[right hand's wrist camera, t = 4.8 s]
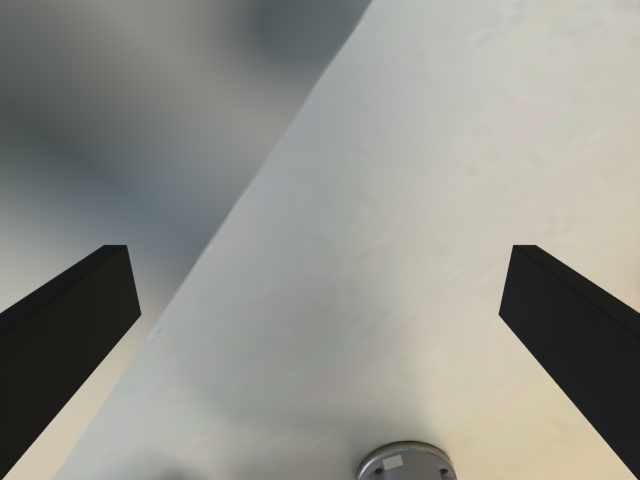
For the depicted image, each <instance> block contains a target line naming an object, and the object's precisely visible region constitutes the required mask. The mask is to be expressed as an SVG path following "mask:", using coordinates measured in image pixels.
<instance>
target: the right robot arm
mask: <svg viewBox="0 0 640 480" xmlns="http://www.w3.org/2000/svg"><path fill="white" fill-rule="evenodd" d="M140 316H141V310H140V306H139V301H138V296H137V291H136V287H135V282H134V277H133V272H132V268H131V263H130V258H129V253H128V249H127V245H104V246H102V247H101V248H99V249H97V250H96V251H95V252H93V253H91V254H90V255H88V256H87V257H85V258H84V259H82V260H81V261H79V262H78V263H76V264H75V265H73V266H72V267H70V268H69V269H67V270H65V271H64V272H62V273H61V274H59V275H58V276H56V277H55V278H53V279H52V280H50V281H49V282H47V283H46V284H44V285H43V286H41V287H40V288H38V289H37V290H35V291H34V292H32V293H30V294H29V295H27V296H26V297H24V298H23V299H21V300H20V301H18V302H17V303H15V304H14V305H12V306H11V307H9V308H8V309H6V310H5V311H3V312H2V313H0V480H2V479H3V478H4V477H5V476H6V474H7V473H8V472H9V471H10V470H11V468H12V467H13V466H14V465H15V464H16V463H17V461H18V460H19V459H20V458H21V457H22V455H23V454H24V453H25V452H26V451H27V449H28V448H29V447H30V446H31V445H32V444H33V442H34V441H35V440H36V439H37V438H38V436H39V435H40V434H41V433H42V432H43V431H44V429H45V428H46V427H47V426H48V425H49V423H50V422H51V421H52V420H53V419H54V418H55V416H56V415H57V414H58V413H59V412H60V410H61V409H62V408H63V407H64V406H65V405H66V403H67V402H68V401H69V400H70V399H71V397H72V396H73V395H74V394H75V393H76V391H77V390H78V389H79V388H80V387H81V386H82V384H83V383H84V382H85V381H86V380H87V379H88V377H89V376H90V375H91V374H92V373H93V371H94V370H95V369H96V368H97V367H98V365H99V364H100V363H101V362H102V361H103V360H104V358H105V357H106V356H107V355H108V354H109V352H110V351H111V350H112V349H113V348H114V346H115V345H116V344H117V343H118V342H119V341H120V339H121V338H122V337H123V336H124V335H125V333H126V332H127V331H128V330H129V329H130V328H131V326H132V325H133V324H134V323H135V322H136V320H137V319H138V318H139V317H140ZM499 316H500V317H501V318H502V319H503V321H504V322H505V323H506V324H507V325H508V326H509V328H510V329H511V330H512V331H513V332H514V334H515V335H516V336H517V337H518V338H519V339H520V341H521V342H522V343H523V344H524V345H525V347H526V348H527V349H528V350H529V351H530V352H531V354H532V355H533V356H534V357H535V358H536V360H537V361H538V362H539V363H540V364H541V365H542V367H543V368H544V369H545V370H546V371H547V373H548V374H549V375H550V376H551V377H552V379H553V380H554V381H555V382H556V383H557V384H558V386H559V387H560V388H561V389H562V390H563V392H564V393H565V394H566V395H567V396H568V397H569V399H570V400H571V401H572V402H573V403H574V405H575V406H576V407H577V408H578V409H579V410H580V412H581V413H582V414H583V415H584V416H585V418H586V419H587V420H588V421H589V422H590V423H591V425H592V426H593V427H594V428H595V429H596V431H597V432H598V433H599V434H600V435H601V437H602V438H603V439H604V440H605V441H606V442H607V444H608V445H609V446H610V447H611V448H612V450H613V451H614V452H615V453H616V454H617V455H618V457H619V458H620V459H621V460H622V461H623V463H624V464H625V465H626V466H627V467H628V468H629V470H630V471H631V472H632V473H633V474H634V476H635V477H636V478H637V479H638V480H640V313H638V312H637V311H635V310H634V309H632V308H631V307H629V306H628V305H626V304H625V303H623V302H622V301H620V300H619V299H617V298H616V297H614V296H613V295H611V294H610V293H608V292H606V291H605V290H603V289H602V288H600V287H599V286H597V285H596V284H594V283H593V282H591V281H590V280H588V279H587V278H585V277H584V276H582V275H581V274H579V273H578V272H576V271H575V270H573V269H571V268H570V267H568V266H567V265H565V264H564V263H562V262H561V261H559V260H558V259H556V258H555V257H553V256H552V255H550V254H549V253H547V252H546V251H544V250H543V249H541V248H540V247H538V246H536V245H513V248H512V253H511V258H510V263H509V267H508V272H507V277H506V282H505V286H504V291H503V296H502V301H501V305H500V310H499ZM356 480H457V478H456V474H455V471H454V469H453V466H452V463H451V461H450V460H449V458H448V457H447V456H446V455H445V454H444V453H443V452H442V451H440V450H439V449H437V448H435V447H433V446H430V445H427V444H423V443H417V442H401V443H395V444H391V445H387V446H384V447H382V448H380V449H378V450H376V451H374V452H373V453H371V454H370V455H369V456H367V457H366V458H365V459H364V461H363V462H362V463H361V465H360V466H359V468H358V471H357V475H356Z"/></svg>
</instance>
